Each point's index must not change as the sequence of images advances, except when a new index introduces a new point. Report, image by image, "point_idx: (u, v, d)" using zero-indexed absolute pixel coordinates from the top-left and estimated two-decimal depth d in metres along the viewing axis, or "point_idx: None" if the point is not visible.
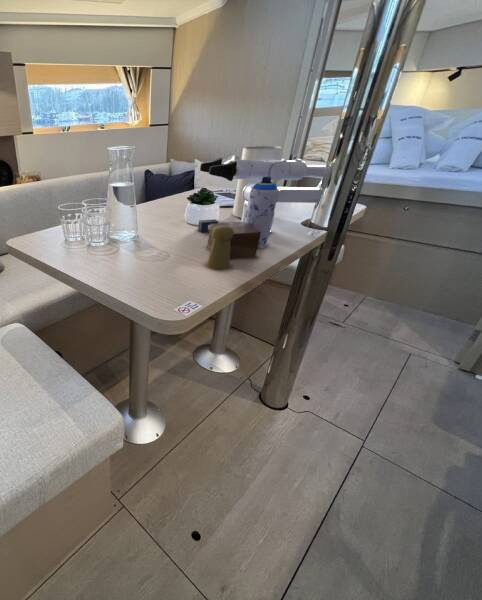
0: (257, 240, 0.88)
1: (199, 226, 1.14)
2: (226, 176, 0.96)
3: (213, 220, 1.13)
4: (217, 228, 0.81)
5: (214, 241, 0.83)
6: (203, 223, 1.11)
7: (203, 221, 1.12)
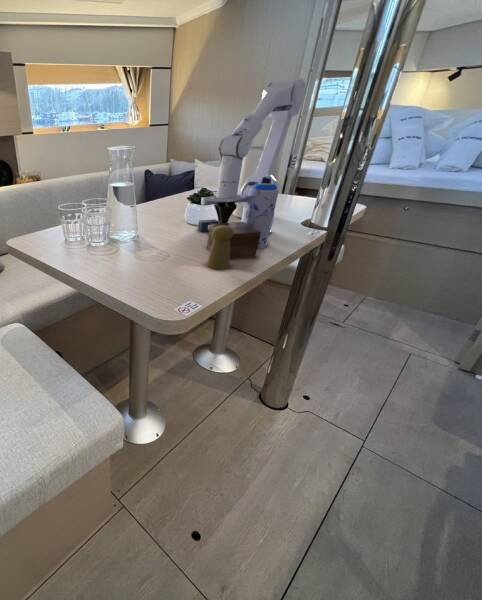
0: (257, 240, 0.88)
1: (199, 226, 1.14)
2: None
3: (213, 220, 1.13)
4: (217, 228, 0.81)
5: (214, 241, 0.83)
6: (203, 223, 1.11)
7: (203, 221, 1.12)
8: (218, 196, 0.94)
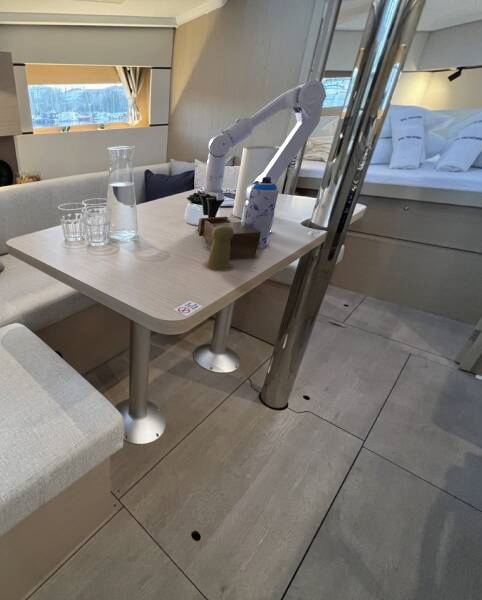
0: (257, 240, 0.88)
1: None
2: (219, 204, 1.06)
3: None
4: (217, 228, 0.81)
5: (214, 241, 0.83)
6: None
7: None
8: None
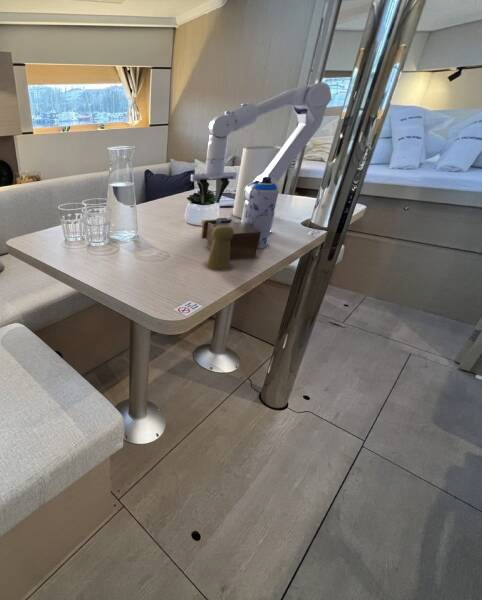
0: (257, 240, 0.88)
1: None
2: None
3: None
4: (217, 228, 0.81)
5: (214, 241, 0.83)
6: None
7: None
8: (206, 173, 1.02)
